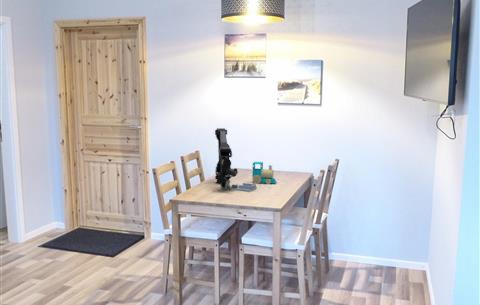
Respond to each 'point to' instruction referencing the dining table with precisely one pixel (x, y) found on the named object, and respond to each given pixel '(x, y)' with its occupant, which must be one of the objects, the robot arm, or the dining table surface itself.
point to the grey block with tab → (226, 185)
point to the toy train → (263, 174)
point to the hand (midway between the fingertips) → (225, 187)
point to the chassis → (244, 187)
